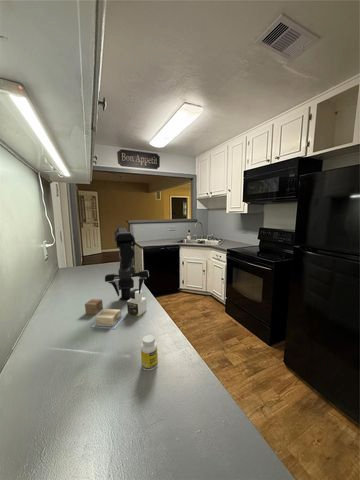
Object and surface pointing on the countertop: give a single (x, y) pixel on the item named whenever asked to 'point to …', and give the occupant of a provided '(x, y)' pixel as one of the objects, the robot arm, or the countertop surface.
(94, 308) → the walnut cube
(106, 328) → the blueprint board
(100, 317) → the maple slab
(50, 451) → the countertop surface
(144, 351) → the supplement bottle
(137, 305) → the medicine bottle
